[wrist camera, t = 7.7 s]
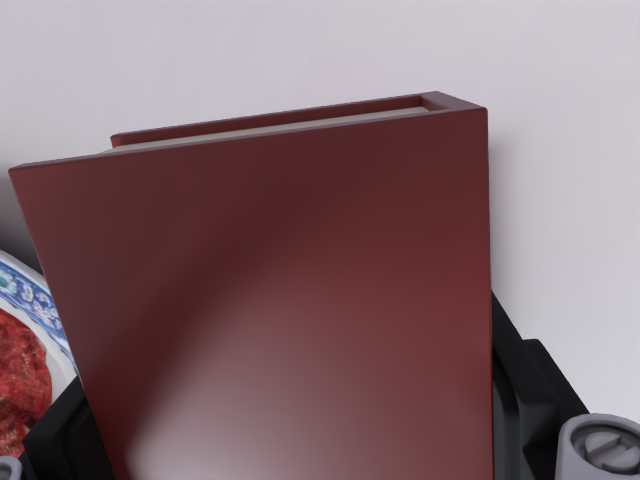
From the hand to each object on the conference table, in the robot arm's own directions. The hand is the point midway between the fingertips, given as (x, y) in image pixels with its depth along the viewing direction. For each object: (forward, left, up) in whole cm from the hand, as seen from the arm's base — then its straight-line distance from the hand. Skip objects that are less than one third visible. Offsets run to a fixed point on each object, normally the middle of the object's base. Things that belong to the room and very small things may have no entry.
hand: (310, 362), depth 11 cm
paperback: (0, 0, 0) cm, 0 cm away
